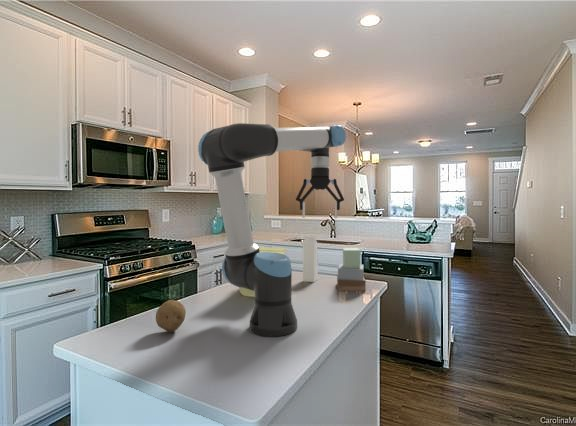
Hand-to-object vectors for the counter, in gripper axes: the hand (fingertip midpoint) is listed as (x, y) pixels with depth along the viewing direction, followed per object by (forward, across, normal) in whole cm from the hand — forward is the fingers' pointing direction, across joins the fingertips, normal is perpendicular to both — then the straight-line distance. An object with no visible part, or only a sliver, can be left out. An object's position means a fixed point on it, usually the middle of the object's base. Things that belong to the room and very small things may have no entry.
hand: (319, 218), depth 145 cm
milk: (+32, +5, -25) cm, 42 cm away
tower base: (+33, -14, -14) cm, 38 cm away
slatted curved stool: (+33, +26, -1) cm, 42 cm away
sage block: (+23, -14, -13) cm, 30 cm away
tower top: (+28, -14, -14) cm, 34 cm away
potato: (+34, +44, +46) cm, 72 cm away
